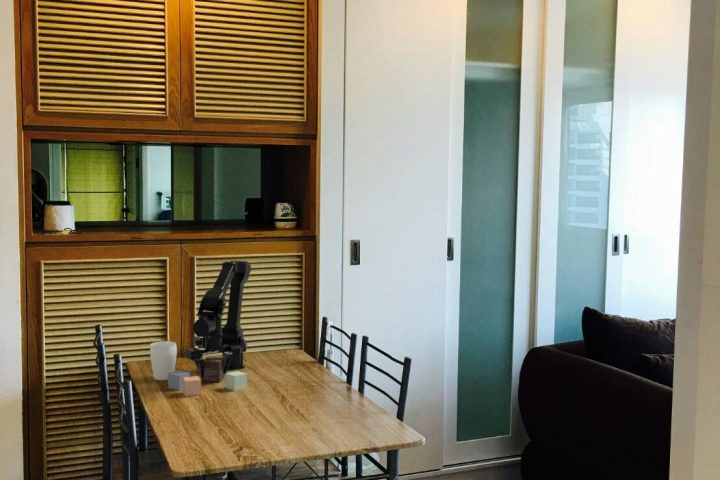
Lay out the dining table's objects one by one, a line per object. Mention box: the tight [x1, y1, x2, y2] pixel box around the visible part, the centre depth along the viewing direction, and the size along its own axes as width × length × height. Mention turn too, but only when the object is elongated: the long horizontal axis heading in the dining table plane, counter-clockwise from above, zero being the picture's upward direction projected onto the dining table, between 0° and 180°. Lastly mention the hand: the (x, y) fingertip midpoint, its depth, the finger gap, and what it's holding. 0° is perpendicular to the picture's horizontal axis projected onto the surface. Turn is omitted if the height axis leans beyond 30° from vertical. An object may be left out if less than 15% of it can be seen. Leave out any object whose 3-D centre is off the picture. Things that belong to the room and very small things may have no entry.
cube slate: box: [167, 369, 191, 391], centre depth 266 cm, size 5×5×5 cm
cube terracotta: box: [182, 375, 202, 397], centre depth 259 cm, size 5×5×5 cm
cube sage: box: [225, 370, 248, 392], centre depth 267 cm, size 5×5×5 cm
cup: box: [149, 340, 178, 381], centre depth 277 cm, size 9×9×12 cm
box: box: [202, 356, 225, 383], centre depth 276 cm, size 6×6×7 cm
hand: (213, 375), depth 276 cm, fingers closed on box, 8 cm apart
